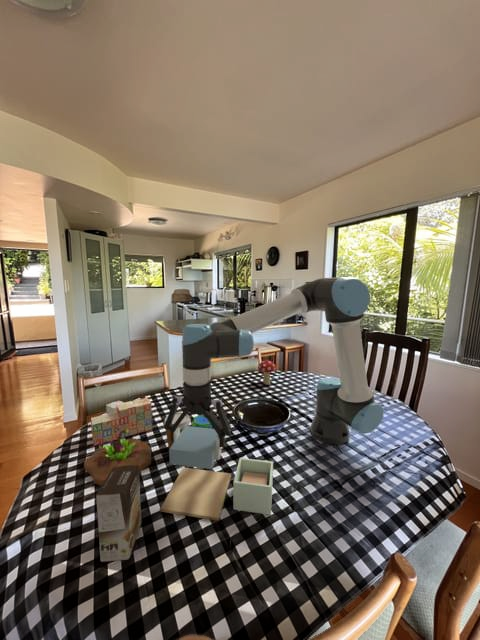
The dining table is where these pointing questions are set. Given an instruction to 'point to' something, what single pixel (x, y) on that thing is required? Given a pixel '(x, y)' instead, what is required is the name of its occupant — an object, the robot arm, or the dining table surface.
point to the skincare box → (112, 406)
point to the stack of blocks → (122, 421)
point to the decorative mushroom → (266, 370)
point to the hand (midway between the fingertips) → (197, 454)
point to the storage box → (253, 486)
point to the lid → (194, 448)
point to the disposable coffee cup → (182, 425)
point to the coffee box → (119, 513)
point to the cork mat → (198, 494)
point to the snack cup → (201, 422)
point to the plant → (117, 457)
